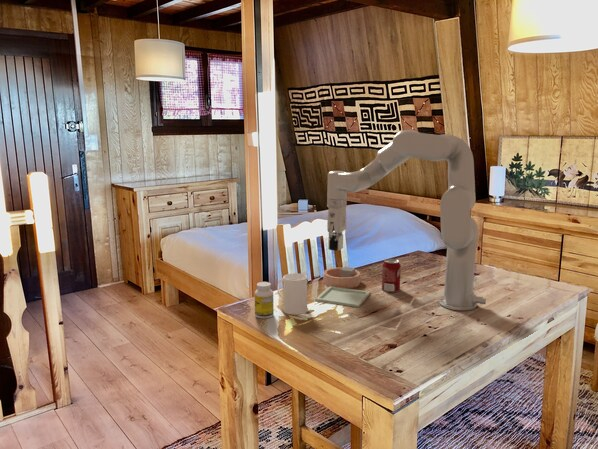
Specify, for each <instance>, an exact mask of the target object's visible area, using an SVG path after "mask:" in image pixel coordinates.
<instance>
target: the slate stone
mask: <svg viewBox="0 0 598 449" xmlns="http://www.w3.org/2000/svg"><path fill="white" fill-rule="evenodd" d="M341 268H342V269H341V275H340V277H352V276H355V270H356V267H355V268H354V267H349V266H344V267H341Z"/></svg>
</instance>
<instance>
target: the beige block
mask: <svg viewBox="0 0 598 449" xmlns="http://www.w3.org/2000/svg"><path fill="white" fill-rule="evenodd" d="M333 235H335V234H333ZM329 238H330V237H329V236H328V246H327V247H328V248H327V249H328V250H330V249H329V247H330V240H329ZM337 240H338V250H337V251H340V250H342V249H343V248H344V234H343V233H342V234H338V235H337Z"/></svg>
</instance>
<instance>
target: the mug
mask: <svg viewBox="0 0 598 449" xmlns="http://www.w3.org/2000/svg"><path fill="white" fill-rule="evenodd" d="M282 282H283V284H282V285H283V286H282V288H283V289H282V290H283V294H282V293H281V290H280V286H281V283H282ZM276 288H277V292H278V295H279V297H280V298H281V299H282V300H283V302H282V303H283V305H282V306H283V307H282V312H283V313H285V314H287V315H291V316H292V315H295V316H296V315H297V316H298V315H304V313H305V312H307V311H308V276H307V275H306V274H303V273H296V272H295V273H292V272H291V273H287V274H285V275H283V277H282V278H281V279H279V281H278V283H277V286H276Z"/></svg>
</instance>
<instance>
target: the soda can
mask: <svg viewBox="0 0 598 449" xmlns="http://www.w3.org/2000/svg"><path fill="white" fill-rule="evenodd" d="M401 269H402V265H401V263H400V260H399V259H397V258H386V259H384V262H383V263H382V269H381V270H382V271H381V272H382V273H381V275H382V276H381V290H382V291H383V292H387V293H398V292H399V291H401V271H402V270H401Z"/></svg>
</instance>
